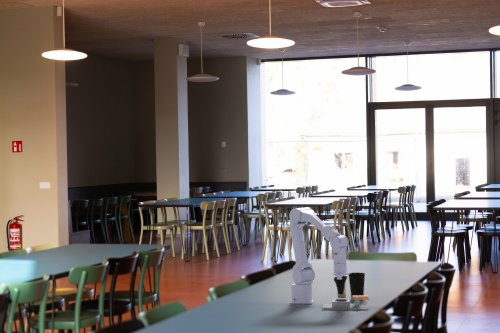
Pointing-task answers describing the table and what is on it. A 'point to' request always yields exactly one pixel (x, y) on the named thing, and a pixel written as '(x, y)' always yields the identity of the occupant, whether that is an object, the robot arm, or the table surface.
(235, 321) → the table surface
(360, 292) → the cup
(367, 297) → the pin
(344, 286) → the peg
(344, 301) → the dock
